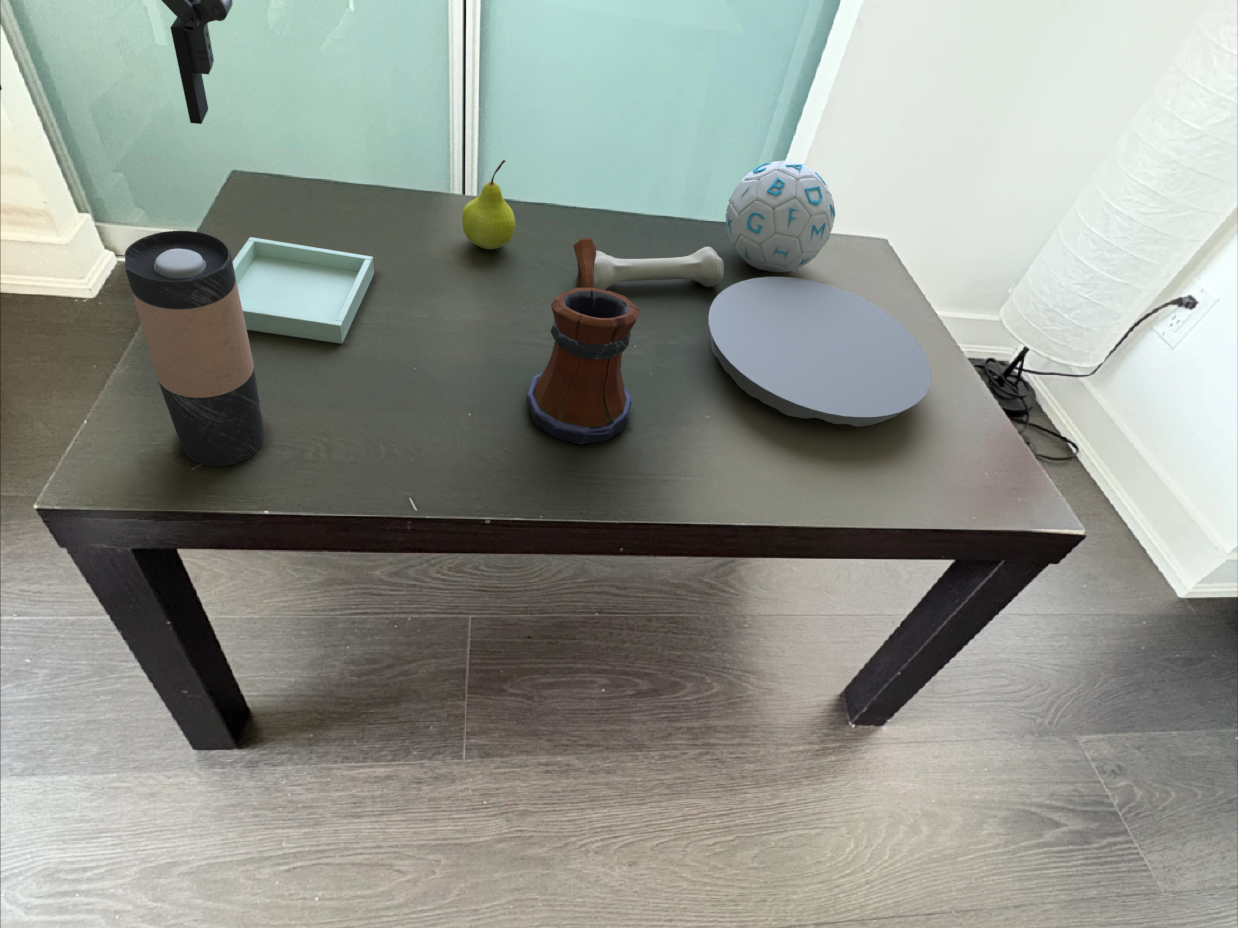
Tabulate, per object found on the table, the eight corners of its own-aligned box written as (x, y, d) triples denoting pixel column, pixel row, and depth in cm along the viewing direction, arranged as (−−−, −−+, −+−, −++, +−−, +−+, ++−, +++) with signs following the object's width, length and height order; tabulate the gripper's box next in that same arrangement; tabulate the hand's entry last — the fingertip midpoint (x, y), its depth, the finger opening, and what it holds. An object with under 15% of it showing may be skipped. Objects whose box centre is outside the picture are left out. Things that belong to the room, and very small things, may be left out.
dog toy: (585, 299, 102) (591, 266, 99) (573, 274, 106) (578, 240, 102) (724, 295, 109) (734, 263, 105) (708, 270, 113) (717, 239, 109)
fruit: (468, 261, 104) (472, 174, 95) (455, 234, 108) (457, 148, 100) (518, 257, 106) (526, 173, 98) (503, 231, 111) (510, 147, 102)
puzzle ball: (830, 270, 119) (869, 176, 108) (780, 304, 110) (817, 205, 99) (748, 226, 124) (777, 132, 114) (694, 256, 115) (720, 156, 105)
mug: (522, 339, 94) (534, 225, 84) (616, 346, 96) (639, 235, 86) (527, 444, 82) (541, 326, 71) (635, 449, 84) (665, 335, 73)
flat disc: (749, 454, 86) (761, 424, 83) (670, 305, 105) (678, 276, 101) (957, 437, 95) (975, 410, 92) (851, 303, 113) (863, 276, 110)
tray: (342, 343, 88) (340, 325, 86) (206, 323, 86) (201, 304, 84) (374, 274, 98) (373, 256, 96) (253, 254, 97) (249, 236, 95)
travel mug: (284, 430, 77) (253, 249, 63) (230, 480, 72) (182, 294, 58) (218, 403, 78) (172, 219, 64) (159, 449, 73) (96, 260, 59)
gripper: (243, -249, 48) (286, 103, 63) (-261, -349, 42) (-83, 66, 57) (222, -235, 43) (274, 145, 58) (-355, -347, 37) (-133, 108, 52)
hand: (97, 106), depth 57 cm, fingers open, 13 cm apart
